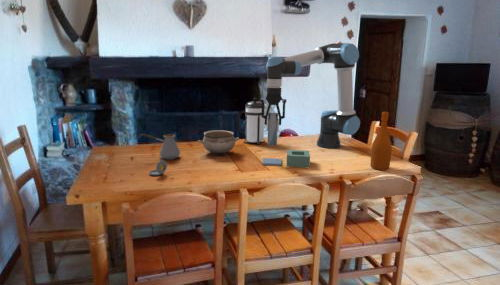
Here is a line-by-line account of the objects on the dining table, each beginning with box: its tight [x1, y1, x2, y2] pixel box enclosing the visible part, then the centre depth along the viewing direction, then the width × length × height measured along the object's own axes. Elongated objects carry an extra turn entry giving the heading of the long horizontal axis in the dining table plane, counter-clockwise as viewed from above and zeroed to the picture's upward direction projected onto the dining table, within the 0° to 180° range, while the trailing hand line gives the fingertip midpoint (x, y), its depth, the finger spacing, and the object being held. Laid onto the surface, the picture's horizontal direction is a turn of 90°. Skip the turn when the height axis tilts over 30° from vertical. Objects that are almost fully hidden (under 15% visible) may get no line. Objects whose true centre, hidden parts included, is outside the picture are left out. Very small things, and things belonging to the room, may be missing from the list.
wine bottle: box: [370, 111, 393, 171], centre depth 189 cm, size 10×10×30 cm
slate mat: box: [261, 157, 282, 167], centre depth 199 cm, size 10×10×1 cm
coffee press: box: [236, 97, 267, 146], centre depth 239 cm, size 17×16×30 cm
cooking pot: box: [197, 129, 240, 156], centre depth 214 cm, size 25×19×12 cm
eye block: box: [286, 149, 311, 168], centre depth 197 cm, size 12×12×6 cm
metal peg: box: [267, 111, 279, 146], centre depth 194 cm, size 5×5×17 cm
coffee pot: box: [139, 132, 181, 161], centre depth 202 cm, size 21×12×15 cm, turn 109°
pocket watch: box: [149, 155, 168, 176], centre depth 176 cm, size 8×8×10 cm
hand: (272, 130), depth 195 cm, fingers closed on metal peg, 5 cm apart
